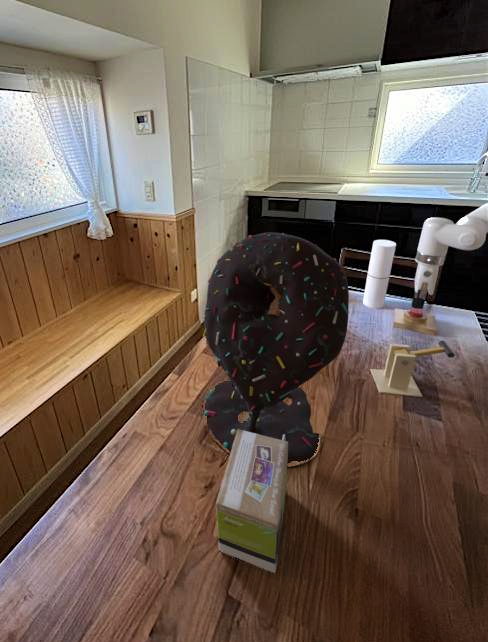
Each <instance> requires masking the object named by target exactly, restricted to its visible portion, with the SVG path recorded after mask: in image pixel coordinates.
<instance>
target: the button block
mask: <svg viewBox="0 0 488 642" xmlns="http://www.w3.org/2000/svg"><path fill="white" fill-rule="evenodd" d="M410 309H411V308H409V309H401V308H396V307H395V308H394V310H393V318H392V319H393V320H392V328H393V329H394V328H395V329H400V330H405V331H408V332H409V331H410V332H414V333H419V334H423V335H429V336H433V337H436V335H437V331H438V328H437V322H436V315H434V314H429V313H425V312H424V311H423V314H422V317H420V318H417V317H413V316H411V315H410V314H409V313H410Z"/></svg>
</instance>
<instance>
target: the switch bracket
mask: <svg viewBox="0 0 488 642" xmlns="http://www.w3.org/2000/svg"><path fill="white" fill-rule="evenodd" d="M401 349H406V351H407V352H410V351H411V346H410V345H409V344H399V343H390V344H389V349H388V352H387V356H386V357H387V358H386V362H385V366H384V369H379V368H377V369H376V368H370V373H371V375H372V378H373V380H374V383H375V385H376V388H377V390H378V393H379V394H386V395H395V396H396V395H397V396H406V397H408V396H409V397H415V398H417V397H418V398H423V393H421V391H420V388H419V387H418V385H417V384H416V381H415V379H414V377H413V376H412V374H413V370H414V367H415V364H416V360H417V357H416V356H415V355H411V354H398V353H396V354H395V355H394V350H401Z"/></svg>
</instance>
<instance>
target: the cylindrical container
mask: <svg viewBox="0 0 488 642" xmlns="http://www.w3.org/2000/svg"><path fill="white" fill-rule="evenodd" d="M396 247H397V243H396V242H395V241H392V240H389V239H375V240H373V242H372V248H371V253H370V258H369V264H368V270H367V276H366V281H365V287H364V293H363V298H362V304H363V305H364V306H366V307H368V308H369V309H370V308H371V309H381V308H383V307H384V305H385V301H386V297H387V296H386V295H387V290H388V287H389V283H390V282H389V281H390V276H391V272H392V271H391V270H392V267H393V266H392V265H393V262H394V257H395V252H396Z"/></svg>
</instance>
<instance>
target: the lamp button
mask: <svg viewBox="0 0 488 642" xmlns="http://www.w3.org/2000/svg"><path fill="white" fill-rule="evenodd" d="M409 309H410V313H409V314H410V315H411V316H413V317H417V318H420V317H422V314H423V312H424V311H423V309H417V308H412V307H411V308H409Z"/></svg>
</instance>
